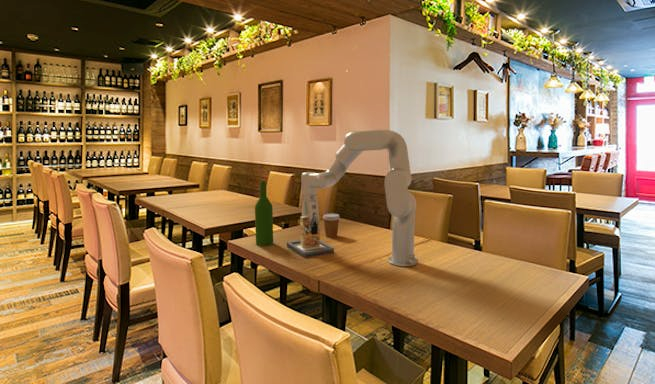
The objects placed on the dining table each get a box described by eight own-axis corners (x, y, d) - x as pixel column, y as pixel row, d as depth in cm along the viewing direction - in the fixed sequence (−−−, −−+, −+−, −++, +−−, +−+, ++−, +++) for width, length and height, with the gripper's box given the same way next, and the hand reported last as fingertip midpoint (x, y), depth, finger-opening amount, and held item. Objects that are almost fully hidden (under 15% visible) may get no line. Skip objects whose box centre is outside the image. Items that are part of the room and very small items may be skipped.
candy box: (302, 248, 195) (302, 217, 193) (300, 246, 199) (300, 215, 197) (319, 246, 199) (319, 216, 196) (317, 244, 202) (317, 214, 200)
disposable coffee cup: (339, 238, 220) (340, 216, 219) (322, 238, 221) (322, 216, 219) (339, 234, 230) (339, 213, 228) (323, 233, 230) (323, 213, 228)
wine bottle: (275, 241, 214) (273, 180, 209) (271, 246, 205) (269, 183, 200) (258, 241, 215) (256, 180, 210) (253, 246, 206) (251, 182, 201)
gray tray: (333, 252, 194) (333, 247, 194) (303, 257, 187) (303, 252, 186) (315, 242, 212) (315, 238, 211) (287, 246, 204) (287, 242, 204)
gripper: (324, 199, 189) (325, 235, 192) (308, 194, 205) (309, 227, 207) (310, 200, 186) (310, 237, 188) (295, 195, 201) (295, 229, 204)
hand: (310, 232), depth 198 cm, fingers open, 9 cm apart
